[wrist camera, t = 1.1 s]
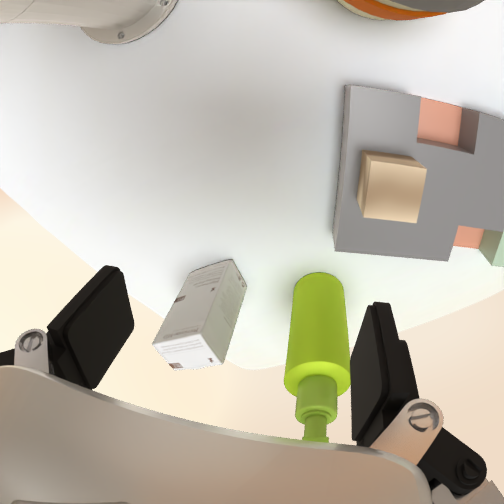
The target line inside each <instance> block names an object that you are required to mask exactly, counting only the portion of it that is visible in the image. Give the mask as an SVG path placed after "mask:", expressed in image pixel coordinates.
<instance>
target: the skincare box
mask: <svg viewBox="0 0 504 504" xmlns="http://www.w3.org/2000/svg"><path fill="white" fill-rule="evenodd" d="M246 289H247V286H246V284H245V282H244V280H243V278H242V276H241V275H240V273H239V271H238V269H237V267H236V265H235V264H234V262H233V260H227V261H223V262H219V263H216V264H213V265H210V266H207V267H204V268H201V269H198V270H195V271H193V272H191V273H190V274H189V276H188V278H187V280H186V281H185V283H184V285H183V287H182V289H181V291H180V292H179V294H178V296H177V298H176V300H175V301H174V303H173V305H172V307H171V309H170V311H169V312H168V314H167V316H166V318H165V320H164V322H163V324H162V326H161V328H160V330H159V332H158V334H157V335H156V337H155V339H154V341H153V343H152V345H153V346H154V347H155V349H156V350H157V351H158V353H159V354H160V355H161V356H162V357H163V358H164V359H165V360H166V362H167V363H168V364H169V365H170V366H171V367H172V368H173V369H174V370H183V369H201V368H204V367H208V366H215V365H222V364H223V363H224V360H225V357H226V354H227V350H228V347H229V344H230V341H231V338H232V334H233V331H234V328H235V325H236V321H237V318H238V315H239V312H240V308H241V305H242V302H243V298H244V295H245V292H246Z"/></svg>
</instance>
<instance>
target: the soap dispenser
mask: <svg viewBox="0 0 504 504" xmlns="http://www.w3.org/2000/svg"><path fill="white" fill-rule="evenodd" d="M350 384H351V381H350V352H349V339H348V328H347V318H346V308H345V299H344V290H343V286H342V284H341V283H340V281H339V280H338V279H337V278H335V277H334V276H332V275H330V274H327V273H312V274H308V275H306V276H304V277H303V278H301V279H300V280H299V281H298V282H297V284H296V286H295V288H294V294H293V305H292V314H291V324H290V333H289V342H288V351H287V359H286V367H285V376H284V385H285V387H286V389H287V390H288V391H289V392H290V393H291V394H292V395H294V396H296V397H297V401H296V411H295V417H296V419H297V420H298V421H299V422H300V423H302V424H305V430H304V437H303V438H302V440H305V441H315V442H326V443H329V441H328V440H329V438H328V437H326V424H329V423H331V422H333V421H334V420H335V419H336V417H337V397H338V396H340V395H342V394H343V393H344V392H346V391H347V389H348V388H349V386H350Z"/></svg>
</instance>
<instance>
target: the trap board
mask: <svg viewBox="0 0 504 504" xmlns="http://www.w3.org/2000/svg"><path fill="white" fill-rule="evenodd" d="M362 150H370V151H377V152H385V153H392V154H398V155H405V156H411V157H413V158H414V159H415V160H416V161H418V162H419V163H420V164H421V165H423V166H424V167H425V168H426V169H427V172H426V178H425V184H424V189H423V194H422V199H421V204H420V209H419V214H418V218H417V223H409V222H401V221H392V220H383V219H374V218H364V217H363V215H362V212H361V209H360V207H359V204H358V201H357V192H358V184H359V176H360V167H361V158H362ZM332 233H333V240H334V248H335V251H338V252H350V253H361V254H372V255H383V256H394V257H405V258H416V259H427V260H437V261H448V260H449V256H450V253H451V250H452V247H453V246H459V247H468V248H476V249H479V250H480V251H481V253H482V254H483V255H484V256H485V258H486V259H487V260H488V262H489V263H490V264H491V266H500V267H504V120H503V119H500V118H497V117H494V116H491V115H488V114H485V113H482V112H478V111H474V110H470V109H466V108H462V107H458V106H455V105H451V104H447V103H443V102H439V101H434V100H430V99H426V98H421V97H420V96H415V95H410V94H405V93H400V92H394V91H389V90H383V89H376V88H370V87H363V86H355V85H345V100H344V118H343V133H342V146H341V158H340V169H339V179H338V189H337V198H336V207H335V216H334V224H333V232H332Z"/></svg>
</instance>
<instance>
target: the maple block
mask: <svg viewBox="0 0 504 504" xmlns="http://www.w3.org/2000/svg"><path fill="white" fill-rule="evenodd" d="M426 172H427V169H426V168H425V167H424V166H423V165H421V164H420V163H419V162H418V161H416V160H415V159H414V158H413V157H411V156H405V155H398V154H392V153H385V152H377V151H370V150H362V158H361V167H360V176H359V184H358V192H357V201H358V204H359V207H360V209H361V212H362V215H363V217H364V218H374V219H383V220H392V221H401V222H409V223H417V218H418V214H419V209H420V204H421V199H422V194H423V189H424V184H425V178H426Z"/></svg>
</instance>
